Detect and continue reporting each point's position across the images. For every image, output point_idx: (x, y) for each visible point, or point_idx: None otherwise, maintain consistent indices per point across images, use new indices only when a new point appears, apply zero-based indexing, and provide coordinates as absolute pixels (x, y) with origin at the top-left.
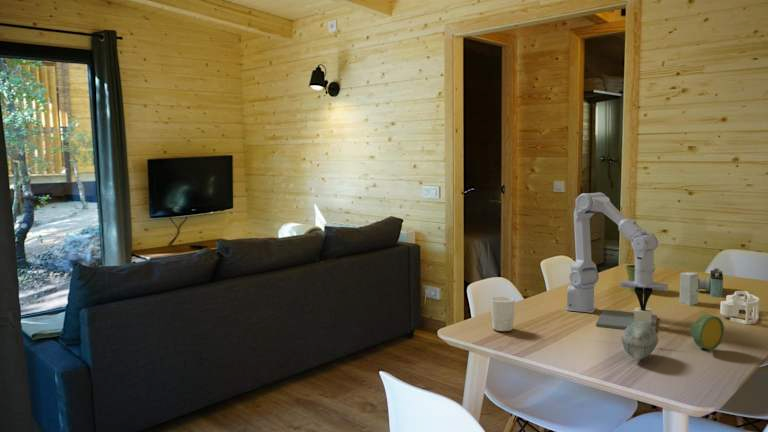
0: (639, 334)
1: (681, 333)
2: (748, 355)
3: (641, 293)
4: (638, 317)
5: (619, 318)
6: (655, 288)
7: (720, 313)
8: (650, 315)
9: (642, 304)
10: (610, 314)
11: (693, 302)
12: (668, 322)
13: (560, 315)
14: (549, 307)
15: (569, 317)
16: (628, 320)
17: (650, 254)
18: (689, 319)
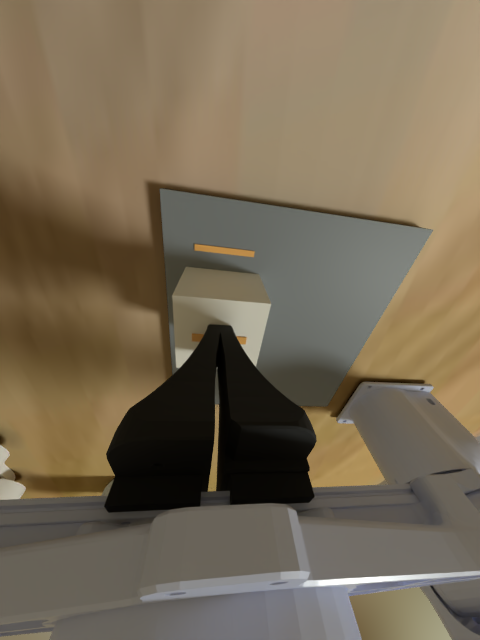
0: None
1: (42, 221)
2: None
3: (239, 406)
4: (242, 285)
5: (301, 335)
6: (65, 517)
7: (2, 448)
8: (179, 287)
9: (223, 342)
10: (320, 370)
11: (106, 490)
12: (135, 361)
13: (477, 339)
14: (457, 398)
15: (459, 325)
16: (273, 319)
17: None
18: (84, 403)
